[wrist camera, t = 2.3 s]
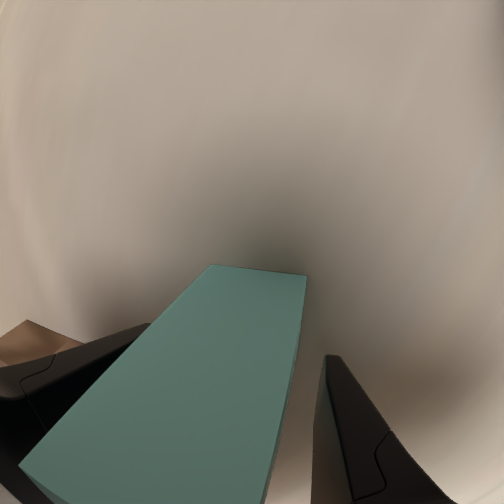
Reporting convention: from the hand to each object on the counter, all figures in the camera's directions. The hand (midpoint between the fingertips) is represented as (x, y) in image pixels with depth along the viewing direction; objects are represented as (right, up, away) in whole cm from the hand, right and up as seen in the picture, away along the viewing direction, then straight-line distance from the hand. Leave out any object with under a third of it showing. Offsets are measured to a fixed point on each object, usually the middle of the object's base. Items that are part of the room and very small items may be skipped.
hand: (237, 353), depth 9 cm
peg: (+1, +1, +2) cm, 2 cm away
